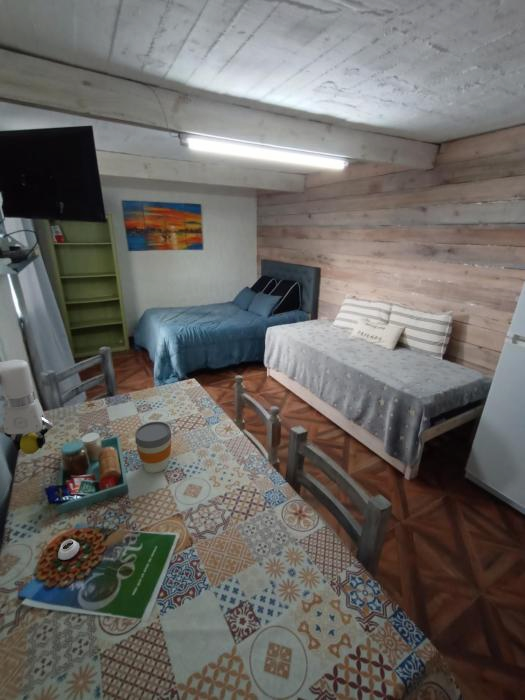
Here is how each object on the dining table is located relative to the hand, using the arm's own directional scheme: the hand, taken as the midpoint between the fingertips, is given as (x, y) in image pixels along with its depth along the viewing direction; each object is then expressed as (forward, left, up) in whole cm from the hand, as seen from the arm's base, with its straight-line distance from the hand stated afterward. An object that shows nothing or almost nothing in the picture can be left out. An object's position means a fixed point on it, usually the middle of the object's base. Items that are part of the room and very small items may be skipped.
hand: (31, 446), depth 105 cm
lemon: (0, 0, -3) cm, 3 cm away
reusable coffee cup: (+39, 0, -15) cm, 41 cm away
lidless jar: (+18, -31, -15) cm, 38 cm away
